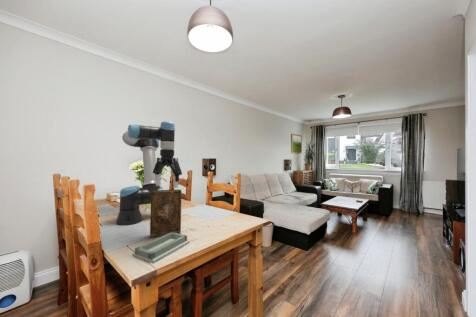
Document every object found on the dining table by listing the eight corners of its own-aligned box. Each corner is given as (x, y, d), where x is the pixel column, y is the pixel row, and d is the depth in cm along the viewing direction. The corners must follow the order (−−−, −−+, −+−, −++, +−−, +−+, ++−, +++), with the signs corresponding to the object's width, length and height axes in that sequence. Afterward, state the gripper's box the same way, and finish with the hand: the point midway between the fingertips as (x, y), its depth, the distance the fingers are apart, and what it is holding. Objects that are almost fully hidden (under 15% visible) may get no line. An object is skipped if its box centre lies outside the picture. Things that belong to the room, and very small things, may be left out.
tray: (132, 254, 88) (132, 247, 88) (169, 237, 108) (169, 231, 108) (154, 263, 82) (154, 255, 82) (189, 242, 101) (189, 236, 101)
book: (180, 230, 117) (180, 189, 117) (181, 234, 112) (182, 190, 112) (150, 234, 111) (150, 190, 111) (149, 238, 106) (150, 192, 106)
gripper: (146, 149, 114) (146, 185, 114) (179, 148, 102) (178, 189, 102) (157, 149, 120) (156, 184, 120) (188, 149, 109) (188, 187, 109)
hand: (166, 186), depth 111 cm, fingers open, 13 cm apart
